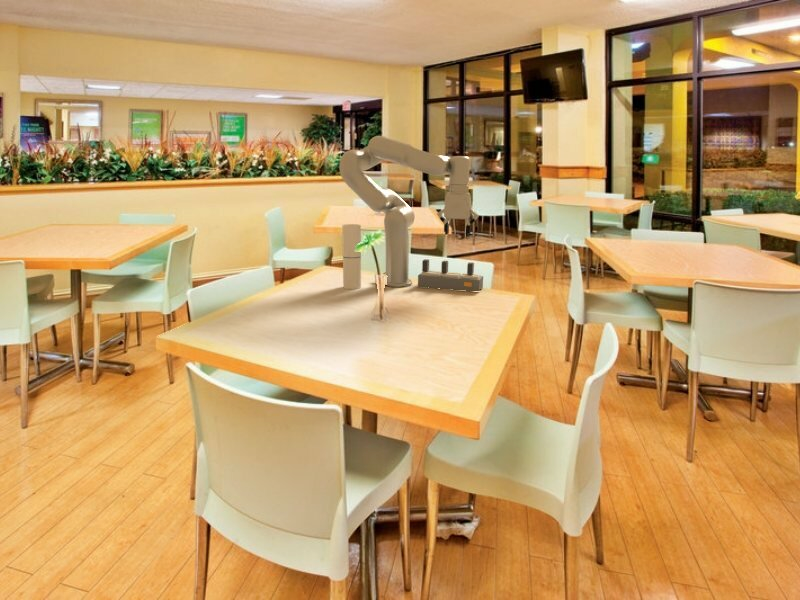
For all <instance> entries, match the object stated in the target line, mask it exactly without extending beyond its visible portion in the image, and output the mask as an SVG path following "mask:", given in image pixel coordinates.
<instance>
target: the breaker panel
mask: <svg viewBox="0 0 800 600" xmlns="http://www.w3.org/2000/svg"><path fill="white" fill-rule="evenodd" d="M418 287H427V288H426V289H430V288H440V289H439V290H442V289H453V290H452V291H454V290H466V291H480V289H482V290H483V287H484V276H483V275H481V274H479V273H478V274H477V273H474V274H473V275H467V272H466V273H465V272H464V273H463V272H462V273H461V272H451V271H448V272H447V273H441V270H440V271H439V270H429V271H427V272H426V271H422V272H420V274H418V276H417V288H418ZM428 287H429V288H428ZM480 292H481V291H480Z"/></svg>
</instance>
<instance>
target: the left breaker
mask: <svg viewBox="0 0 800 600" xmlns="http://www.w3.org/2000/svg"><path fill="white" fill-rule="evenodd" d="M421 265H422V268H421V271H422V272H423V271H426V272H427V271H430V259H423V260H422V264H421Z"/></svg>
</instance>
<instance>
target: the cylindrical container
mask: <svg viewBox="0 0 800 600" xmlns="http://www.w3.org/2000/svg"><path fill="white" fill-rule="evenodd" d="M341 226H342V227H341V228H342V229H341V230H342V231H341V232H342V234H341V235H342V272H343V273H342V274H343V275H342V278H343V279H342V282H343V289H346V290H358V289H361V288H362V256H361V255H362V251H361V252H355V251H354V250H355V246H356V245H357V244H358V243H360V242H362V239H361V238H362V237H361V231H362V230H361V227H362V226H361V224H354V223H352V224H351V223H350V224H349V223H346V224H342V225H341Z"/></svg>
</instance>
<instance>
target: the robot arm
mask: <svg viewBox="0 0 800 600" xmlns="http://www.w3.org/2000/svg"><path fill="white" fill-rule="evenodd" d="M470 159H471V158H470V157H469V156H466V155H464V156H463V155H454V156H449V155H441V154H435V153H432V152H428V151H424V150H421V149H418V148H416V147H414V146H413V145H411V144H409V143H407V142H402V141H399V140H395V139H392V138H390V137H388V136H382V135H376V136H374V137H372V138H371V139H370V140H369V142H368V145H367V146H365V147H363V148H361V149H348V150H347V151H346V152H344V153H343V154H342V156H341V157H340V160H339V172H340V176H341V178H342V179H343V181H344V183H345V184H346V186H347V187H348V188H350V190H351V191H353V192H354V193H355V195H357V197H359V198H360V199H361V200H362V202H364V203H365V204H366V205H367V207H369V208H370V209H371V210H372V211H373V212H375V213H384V214H385V215H384V219H383V224H384V225H383V227H384V234H385V237H384V238H385V272H382V273H383V274H386V275H387V276H388V277H387V286H386V287H391V286H393V287H392V288H394V287H395V288H396V287H397V288H402V287H401V286H404V287H409V286H412V284H413V280H411V279H409V271H410V269H409V261H410V259H409V258H410V257H409V256H410V255H409V254H410V247H409V246H410V237H409V227H411V226H412V225H413V224H414V222H415V212H414V210H413V209H412V208H411V207H410V205H409V204H408V203H406V202H405V201H404V200H403V198H401V197H400V196H399V195H398V194H397V193H396V192H395V191H394V190H392V189H391V188H388V187H381V186H379V185H378V184H377V183H375V181H373V179H372V178H371V177H370V176H368V175H367V174H365V173H364V171H367V170H369V169H371V168H374V167H375V166H377V165H379V164H380V163H382V162H384V161H385V162H389V163H393V164H396V165H399V166H402V167H405V168H409V169H412V170H414V171H417V172H422V173H424V174H428V175H431V176H438V177H439V176H446V175H449V181H448V183H449V184H448V185H445V190H448V192H446V195H445V199H444V200H445V201H444V208H442V209H441V210H439V211H438V212H437V213H436V215H437V217H438V218H439V220H440V221H441V222H442V223H443V225H444V226H443V232H444V233H445V234H444V235H448V234H449V233H450V224H449V221H450V220H464V222H465V223H466V225H465V236H466V237H467V236H469V235H470V234H471V230H472V229H471V227H472V226H471V225H472V224H473V223H475V222H476V220H477V219H478V218H479V216H480V215H479V214H478V213H477V211H475V210H474V209H472V197H471V192H469V188H470V170H471V169H470V168H471V165H470V163H471V160H470ZM472 215H473V217H472V219H471V216H472ZM408 285H409V286H408Z"/></svg>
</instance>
